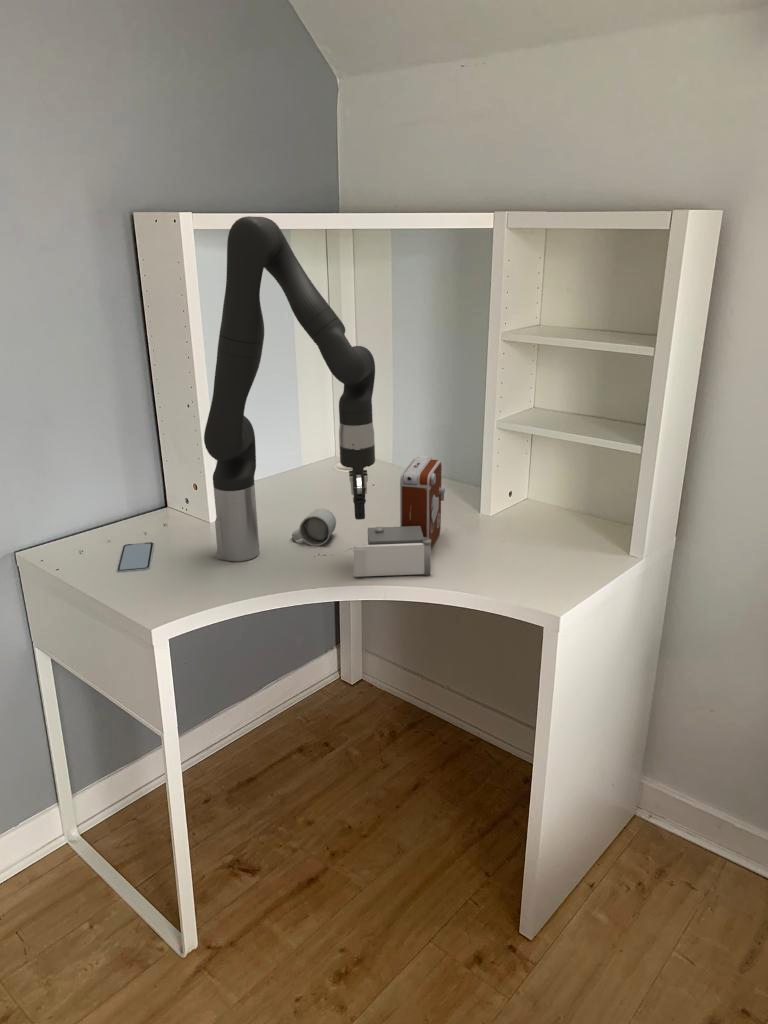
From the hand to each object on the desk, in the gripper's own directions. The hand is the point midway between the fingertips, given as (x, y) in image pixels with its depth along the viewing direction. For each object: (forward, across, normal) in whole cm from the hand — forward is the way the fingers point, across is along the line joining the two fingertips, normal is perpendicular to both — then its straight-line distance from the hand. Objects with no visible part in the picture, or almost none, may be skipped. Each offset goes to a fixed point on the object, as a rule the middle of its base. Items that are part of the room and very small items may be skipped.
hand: (359, 518), depth 175 cm
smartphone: (+12, -10, -52) cm, 55 cm away
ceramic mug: (+12, -17, -11) cm, 23 cm away
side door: (+12, +6, +7) cm, 14 cm away
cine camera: (+12, -14, +16) cm, 24 cm away
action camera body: (+12, +1, +8) cm, 15 cm away
